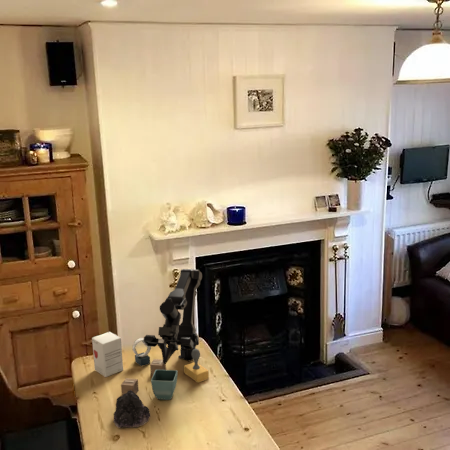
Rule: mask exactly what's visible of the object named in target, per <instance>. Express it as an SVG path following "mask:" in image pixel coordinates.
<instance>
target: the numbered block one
mask: <svg viewBox="0 0 450 450" xmlns="http://www.w3.org/2000/svg"><path fill="white" fill-rule="evenodd" d="M139 388H140V387H139V379H138V378H129V377H127V378H126V377H125V379H124V380H123V381H122V382H121V384H120V389H121V391H120V393H121V396H122V395H123V394H126V393H127V392H128V391H130V390H131V391H133V392H134V393H135V394H136V395H138V392H139Z"/></svg>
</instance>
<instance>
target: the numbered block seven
mask: <svg viewBox="0 0 450 450" xmlns="http://www.w3.org/2000/svg"><path fill="white" fill-rule="evenodd" d="M149 366H150V367H149V368H150V370H149V371H150V376H151V377H153V374H154V372H155V370H167V363H166V364H164V363H163V359H161V358H160V359H159V358H153V360H152V361H151V362H150V365H149Z"/></svg>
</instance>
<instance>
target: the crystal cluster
mask: <svg viewBox="0 0 450 450" xmlns="http://www.w3.org/2000/svg"><path fill="white" fill-rule="evenodd" d="M150 417H151V411H150V409H149V407H148V406H146V405H144V403H143V401H142V400H141V398H140V397H139V395H138V394H135V393H134V392H133V391H131V390H130V391H128V392H127V393H126V394H123V395H122V394H121V395H120V396H118V397H117V398H116V403H115V410H114V413H113V423H114V425H115V427H117V428H139V427H140V426H144V425H145V424H146V423H147V422H149V420H150Z"/></svg>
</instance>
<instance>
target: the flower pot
mask: <svg viewBox="0 0 450 450" xmlns="http://www.w3.org/2000/svg"><path fill="white" fill-rule="evenodd" d="M178 372H179V371H178V370H176V369H166V370H155V372H154V374H153V376H151V379H150V384H151V389H152V393H153V395H154V397H155V398H156V399H157V400H165V401H166V400H168V401H169V400H171V399H172V398H173V395H174V393H175V390H176V387H177V383H178Z"/></svg>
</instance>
